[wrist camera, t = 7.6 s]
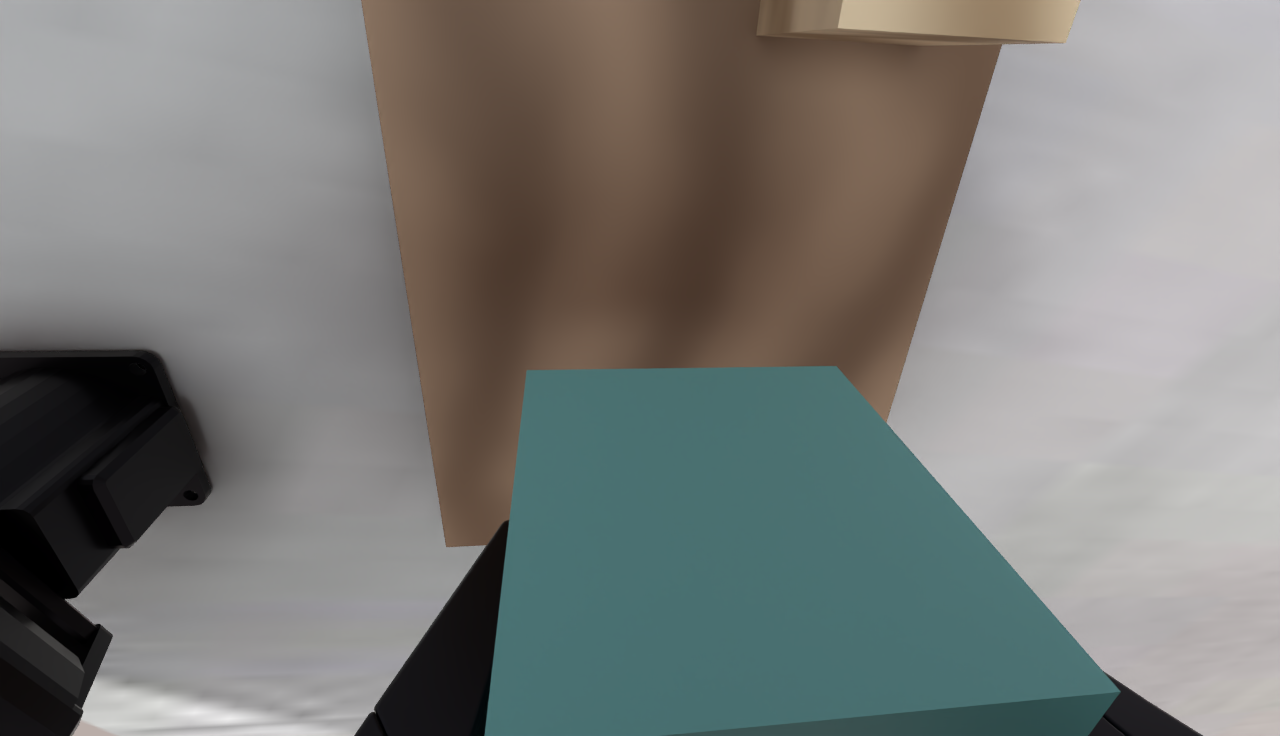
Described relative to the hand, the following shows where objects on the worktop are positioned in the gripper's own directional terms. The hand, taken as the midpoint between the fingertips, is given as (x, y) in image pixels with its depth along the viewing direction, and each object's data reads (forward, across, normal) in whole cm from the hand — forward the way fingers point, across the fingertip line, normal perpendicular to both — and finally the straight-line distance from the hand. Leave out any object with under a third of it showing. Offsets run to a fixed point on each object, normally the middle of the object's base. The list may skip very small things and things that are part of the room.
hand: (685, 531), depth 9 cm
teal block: (+1, 0, 0) cm, 1 cm away
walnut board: (+12, -2, -1) cm, 13 cm away
